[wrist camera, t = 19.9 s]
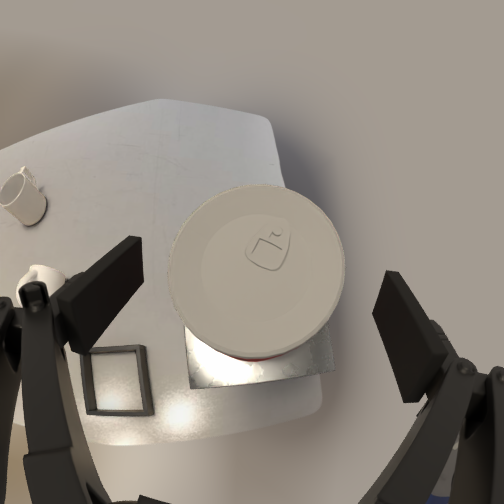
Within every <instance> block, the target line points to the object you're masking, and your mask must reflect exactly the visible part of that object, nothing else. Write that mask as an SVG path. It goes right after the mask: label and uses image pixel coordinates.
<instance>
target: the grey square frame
mask: <svg viewBox="0 0 504 504" xmlns="http://www.w3.org/2000/svg"><path fill="white" fill-rule="evenodd" d="M127 351H136V358H137V367H138V375H139V383H140V390H141V397H142V403H143V410H98V409H97V408H96V401H95V394H94V386H93V378H92V368H91V357H90V353H110V352H127ZM80 366H81V376H82V385H83V393H84V400H85V407H86V413H87V415H101V416H150V415H152V414H154V411H153V404H152V398H151V391H150V384H149V377H148V369H147V361H146V352H145V346H143V345H126V346H111V347H93V348H91V349H90V351H89V352H88V353H87V355H86V356H84V355H81V354H80Z"/></svg>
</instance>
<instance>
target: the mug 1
mask: <svg viewBox="0 0 504 504" xmlns="http://www.w3.org/2000/svg"><path fill="white" fill-rule="evenodd" d="M23 171H24V172H25V174H26V175H27V176H28V177H29V178H30V180H31V182H30V181H29V180H28V179H27V178H26V177H25V175H24V174H23ZM0 205H1V206H2V207H4V208H5V209H6V210H7V211H8V212H9V213H11V214H12V215H13V216H14V217H15V218H17V219H18V220H19V221H20V222H21V223H23V224H24V225H33V224H35V223H37V222H38V221H39V220H40V219H41V218H42V216H43V214H44V212H45V209H46V199H45V197H44V196H43V194H42V193H41V192H40V191H39V190H38V189H37V188H36V180H35V178H34V176H33V175H32V174H31V173H30V171H29V170H28V169H27V168H26V166H24V167H22V168H21V170H20V171H19V173H16V174H14V175H12V176H11V177H10V178H9V179H8V180H7V181H6V182H5V183H4V185H3V186H2V188H1V190H0Z"/></svg>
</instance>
